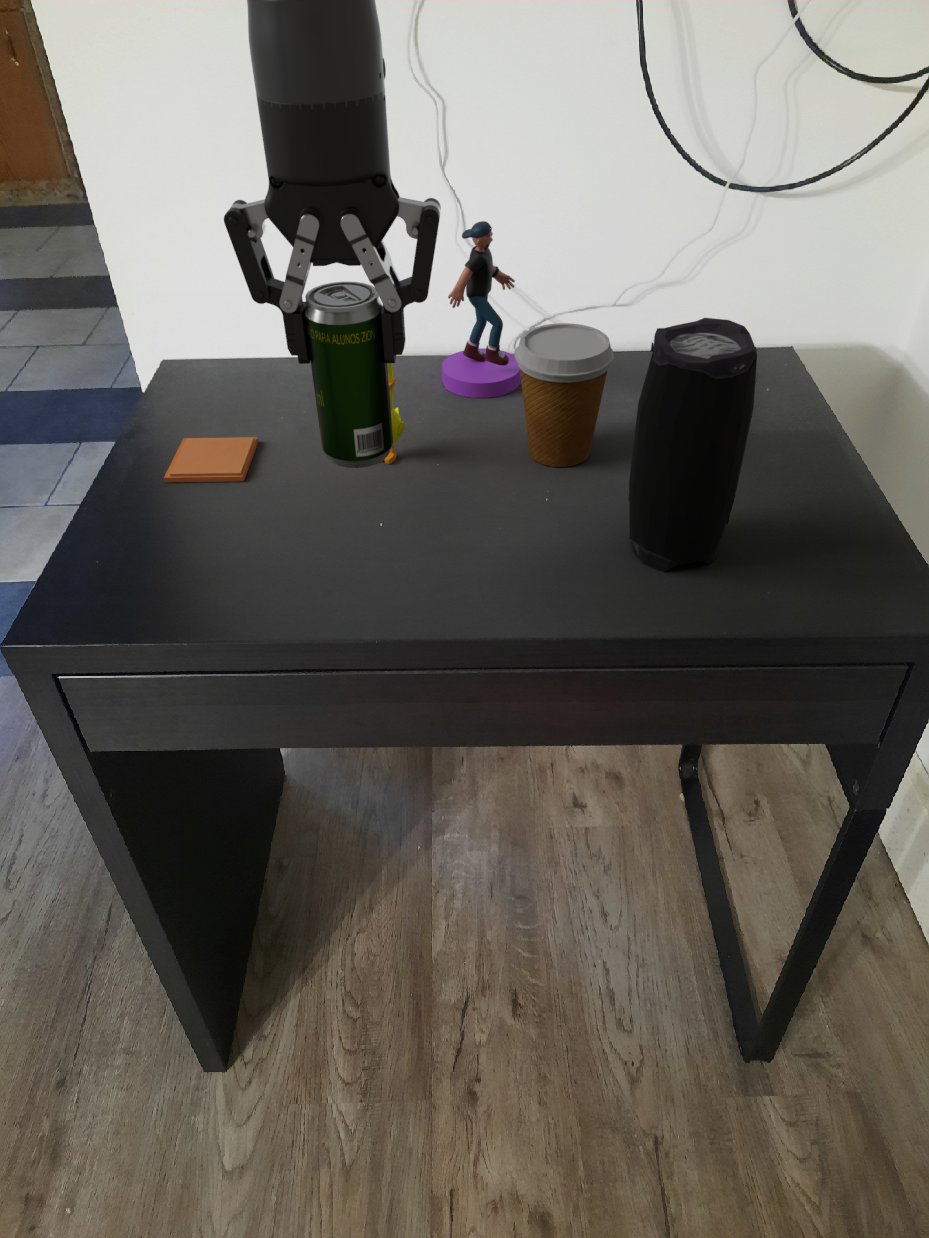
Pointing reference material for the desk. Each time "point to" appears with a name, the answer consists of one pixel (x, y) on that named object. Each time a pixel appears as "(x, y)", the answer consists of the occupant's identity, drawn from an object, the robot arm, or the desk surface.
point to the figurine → (481, 328)
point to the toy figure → (393, 418)
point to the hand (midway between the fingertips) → (348, 358)
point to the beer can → (349, 373)
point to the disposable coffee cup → (562, 389)
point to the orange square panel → (212, 460)
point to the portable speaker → (690, 440)
